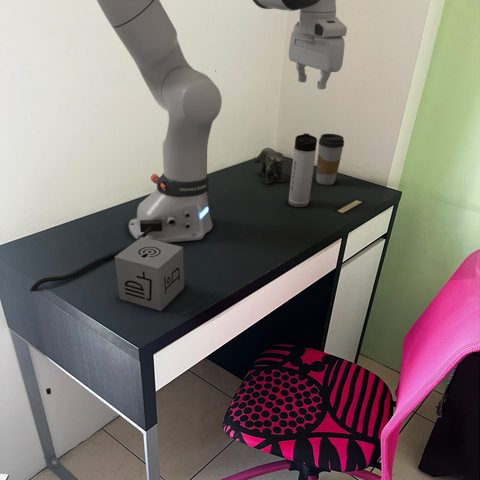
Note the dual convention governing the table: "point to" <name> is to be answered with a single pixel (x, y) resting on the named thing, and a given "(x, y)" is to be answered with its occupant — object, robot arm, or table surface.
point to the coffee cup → (329, 158)
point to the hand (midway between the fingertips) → (311, 85)
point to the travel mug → (302, 170)
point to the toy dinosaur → (270, 164)
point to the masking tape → (349, 206)
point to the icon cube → (150, 273)
